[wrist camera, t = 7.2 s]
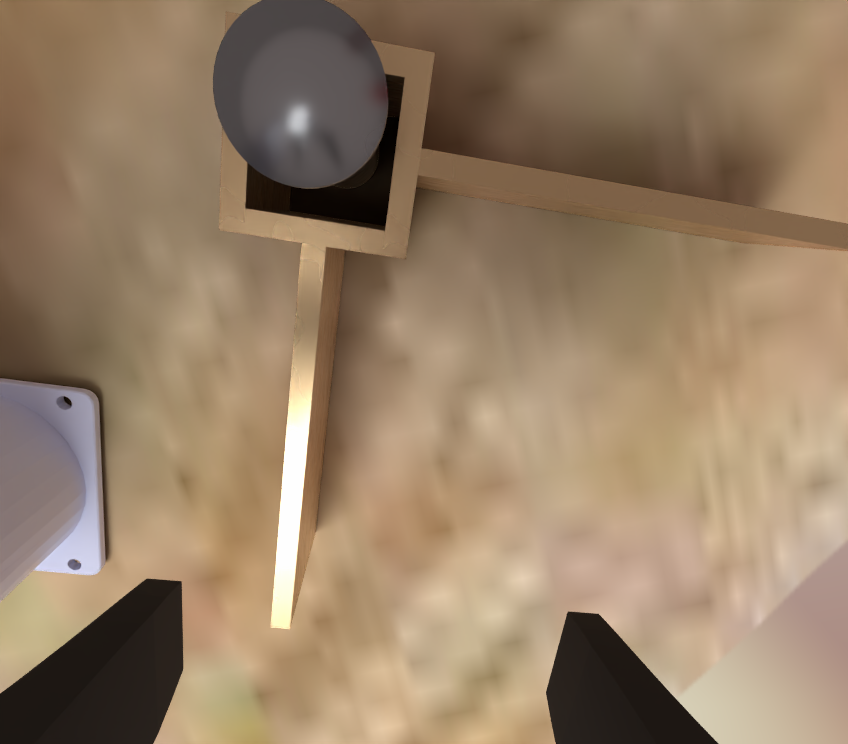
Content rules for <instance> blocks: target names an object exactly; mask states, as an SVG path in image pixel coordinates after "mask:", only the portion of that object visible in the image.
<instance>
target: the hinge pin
mask: <svg viewBox="0 0 848 744" xmlns="http://www.w3.org/2000/svg"><path fill="white" fill-rule="evenodd" d="M213 93H214V100H215V106H216V109H217V113H218V117H219V119H220V122H221V125H222V127H223V129H224V131H225V133H226V135H227V137H228V139H229V141H230V142H231V144H232V145H233V146H234V148H235V149H236V151H237V152H238V153H239V154H240V155H241V156H242V158H243V159H244V160H245V161H246V162H247V163H249V164H250V165H251V166H252V167H253V168H254V169H256V170H257V171H259V172H260V173H261V174H263V175H265V176H266V177H268V178H270V179H272V180H274V181H277V182H279V183H282V184H285V185H289V186H293V187H297V188H306V189H314V188H323V187H329V186H332V185H334V186H336V187H339V188H345V189H349V188H356V187H359V186H361V185H363V184H364V183H366V182H367V181H368V180H369V179H370V178H371V177H372V176H373V174H374V173H375V171H376V169H377V166H378V162H379V147H378V145H379V143H380V141H381V139H382V136H383V133H384V130H385V126H386V121H387V114H388V90H387V82H386V77H385V72H384V69H383V65H382V62H381V60H380V57H379V55H378V53H377V50H376V49H375V47H374V45H373V43H372V41H371V40H370V38H369V37H368V35H367V34H366V33H365V31H364V30H363V29H362V28H361V26H360V25H359V24H358V23H357V22H356V21H355V20H354V19H353V18H352V17H350V16H349V15H348V14H347V13H346V12H344V11H343V10H341V9H340V8H338V7H337V6H335V5H333V4H331V3H329V2H327V1H325V0H262V1H260V2H258V3H256V4H254V5H252V6H251V7H250V8H248V9H247V10H246V11H244V12H243V13H242V14H241V15H240V16H239V17H238V18H237V19H236V20H235V21H234V22H233V24H232V25H231V26H230V28H229V29H228V31H227V32H226V34H225V36H224V38H223V40H222V42H221V44H220V47H219V50H218V52H217V56H216V60H215V65H214V74H213Z"/></svg>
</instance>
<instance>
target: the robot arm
mask: <svg viewBox="0 0 848 744" xmlns="http://www.w3.org/2000/svg"><path fill="white" fill-rule="evenodd" d="M64 396H65V397H68V398H69V399H70V400H71V402H72V406H71V405H68V404H67V403H66V402H65V401H64ZM75 559H76V560H78V561H79V562H80V563H78V562H76V561H75ZM104 565H105V537H104V513H103V488H102V464H101V440H100V415H99V401H98V398H97V396H96V395H95V394H94V393H93V392H91V391H90V390H87V389H84V388H76V387H68V386H60V385H52V384H43V383H35V382H27V381H19V380H11V379H3V378H0V602H1V601H2V600H3V599H4V598H5V597H6V596H7V595H8V594H9V593H10V592H11V591H12V590H13V589H14V588H16V587H17V586H18V585H19V584H20V583H21V582H22V581H23V580H24V579H25V578H26V577H27V576H28V575H29V574H30V573H31V572H32V571H33V570H38V571H48V572H59V573H70V574H81V575H95V574H97V573H98V572H99V571H100V570H101V569H102V568H103V566H104ZM182 671H183V628H182V581H170V580H157V579H146V580H145V581H143V582H142V583H141V584H139V585H138V586H137V587H135V588H134V589H133V590H132V591H130V592H129V593H128V594H127V595H125V596H124V597H123V598H122V599H120V600H119V601H118V602H117V603H115V604H114V605H113V606H112V607H110V608H109V609H108V610H107V611H105V612H104V613H103V614H102V615H101V616H99V617H98V618H97V619H96V620H94V621H93V622H92V623H91V624H89V625H88V626H87V627H86V628H84V629H83V630H82V631H81V632H79V633H78V634H77V635H76V636H74V637H73V638H72V639H71V640H69V641H68V642H67V643H66V644H64V645H63V646H62V647H60V648H59V649H58V650H57V651H55V652H54V653H53V654H51V655H50V656H49V657H47V658H46V659H45V660H44V661H42V662H41V663H40V664H38V665H37V666H36V667H35V668H33V669H32V670H31V671H29V672H28V673H27V674H26V675H24V676H23V677H22V678H20V679H19V680H18V681H16V682H15V683H14V684H13V685H11V686H10V687H9V688H7V689H6V690H5V691H3V692H2V693H0V744H153V743H154V741H155V739H156V737H157V734H158V732H159V730H160V727H161V725H162V722H163V720H164V717H165V715H166V712H167V710H168V708H169V705H170V703H171V700H172V697H173V695H174V692H175V689H176V687H177V684H178V682H179V679H180V676H181V674H182ZM546 695H547V700H548V706H549V711H550V717H551V722H552V727H553V732H554V737H555V742H556V744H718V743H717V742H716V741H715V740H714V739H713V738H712V737H711V736H710V735H709V734H708V732H707V731H706V730H704V728H703V727H702V726H701V725H700V724H699V723H698V722H697V721H696V720H695V719H694V718H693V717H692V716H691V715H690V714H689V713H688V711H687V710H686V709H685V708H684V707H683V706H682V705H681V704H680V703H679V702H678V701H677V700H676V699H675V697H674V696H673V695H672V694H671V693H670V692H669V691H668V690H667V689H666V688H665V687H664V685H663V684H662V683H661V682H660V681H659V680H658V679H657V678H656V677H655V676H654V674H653V673H652V672H651V671H650V670H649V669H648V668H647V667H646V666H645V664H644V663H643V662H642V661H641V660H640V659H639V658H638V657H637V656H636V654H635V653H634V652H633V651H632V650H631V649H630V648H629V647H628V646H627V644H626V643H625V642H624V641H623V640H622V639H621V638H620V637H619V635H618V634H617V633H616V632H615V631H614V630H613V629H612V628H611V627H610V626H609V624H608V623H607V622H606V621H605V620H604V619H603V618H602V617H601V616H600V615H599V614H593V613H580V612H568V613H567V617H566V620H565V624H564V628H563V631H562V635H561V639H560V643H559V646H558V650H557V654H556V657H555V661H554V665H553V669H552V672H551V676H550V680H549V683H548V687H547V691H546Z"/></svg>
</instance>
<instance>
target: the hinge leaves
mask: <svg viewBox="0 0 848 744" xmlns="http://www.w3.org/2000/svg"><path fill="white" fill-rule="evenodd" d="M240 15H241V14H236V13H231V12H226V24H225V34H226V32H227V31H228V29H229V28H230V26H231V25H232V24H233V22H234V21H235V20H236V19H237V18H238V17H239V16H240ZM371 41H372V43H373V45H374V47H375V49H376V50H377V53H378V55H379V57H380V60H381V62H382V65H383V69H384V72H385V77H386V82H387V90H388V114H387V116H390V117H396V118H400V119H399V127H398V135H397V143H396V150H395V158H394V166H393V174H392V182H391V189H390V197H389V205H388V213H387V221H386V226H381V225H375V224H369V223H362V222H356V221H350V220H344V219H338V218H331V217H325V216H319V215H313V214H307V213H300V212H294V211H289V210H290V196H291V186H289V185H285V184H282V183H279V182H277V181H274V180H272V179H270V178H268V177H266V176H265V175H263V174H261V173H260V172H259V171H257V170H256V169H254V168H253V167H252V166H251V165H250V164H249V163H247V162H246V161H245V160H244V159H243V158H242V156H241V155H240V154H239V153H238V152H237V151H236V149H235V148H234V146H233V145H232V144H231V142H230V141H229V139H228V137H227V135H226V133H225V131H224V129H223V127H222V149H221V180H220V211H219V230H222V231H229V232H235V233H241V234H248V235H254V236H261V237H267V238H273V239H280V240H286V241H293V242H299V243H302V245H301V258H300V270H299V283H298V295H297V308H296V320H295V332H294V345H293V357H292V370H291V382H290V395H289V407H288V419H287V432H286V444H285V457H284V469H283V482H282V494H281V507H280V519H279V531H278V544H277V556H276V569H275V581H274V594H273V606H272V618H271V627H275V628H286V629H290V626H291V623H292V619H293V615H294V611H295V608H296V604H297V600H298V596H299V593H300V589H301V585H302V581H303V578H304V574H305V570H306V566H307V563H308V559H309V555H310V551H311V548H312V544H313V540H314V536H315V532H316V523H317V513H318V504H319V494H320V485H321V476H322V466H323V457H324V447H325V438H326V428H327V419H328V410H329V400H330V391H331V381H332V372H333V363H334V353H335V344H336V334H337V325H338V316H339V306H340V297H341V287H342V278H343V268H344V259H345V250H350V251H357V252H363V253H370V254H376V255H382V256H389V257H395V258H402V259H406V253H407V246H408V239H409V232H410V225H411V218H412V211H413V204H414V197H415V190H416V188H422V189H427V190H433V191H439V192H445V193H451V194H457V195H463V196H469V197H475V198H480V199H486V200H492V201H498V202H504V203H510V204H516V205H522V206H528V207H533V208H539V209H545V210H551V211H557V212H563V213H569V214H575V215H581V216H587V217H592V218H598V219H604V220H610V221H616V222H622V223H628V224H634V225H640V226H645V227H651V228H657V229H663V230H669V231H675V232H681V233H687V234H693V235H699V236H704V237H710V238H716V239H722V240H728V241H734V242H740V243H750V244H763V245H775V246H788V247H801V248H814V249H827V250H840V251H848V224H846V223H841V222H835V221H829V220H824V219H818V218H812V217H807V216H801V215H796V214H790V213H784V212H779V211H773V210H767V209H762V208H756V207H750V206H745V205H739V204H733V203H728V202H722V201H717V200H711V199H705V198H700V197H694V196H688V195H683V194H677V193H671V192H666V191H660V190H654V189H649V188H643V187H638V186H632V185H626V184H621V183H615V182H609V181H604V180H598V179H592V178H587V177H581V176H575V175H570V174H564V173H559V172H553V171H547V170H542V169H536V168H530V167H525V166H519V165H513V164H508V163H502V162H497V161H491V160H485V159H480V158H474V157H468V156H463V155H457V154H451V153H446V152H440V151H434V150H429V149H423V148H422V141H423V134H424V127H425V120H426V113H427V106H428V99H429V92H430V85H431V78H432V71H433V64H434V56H435V52H430V51H425V50H420V49H414V48H409V47H404V46H399V45H394V44H389V43H384V42H379V41H374V40H371Z"/></svg>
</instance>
